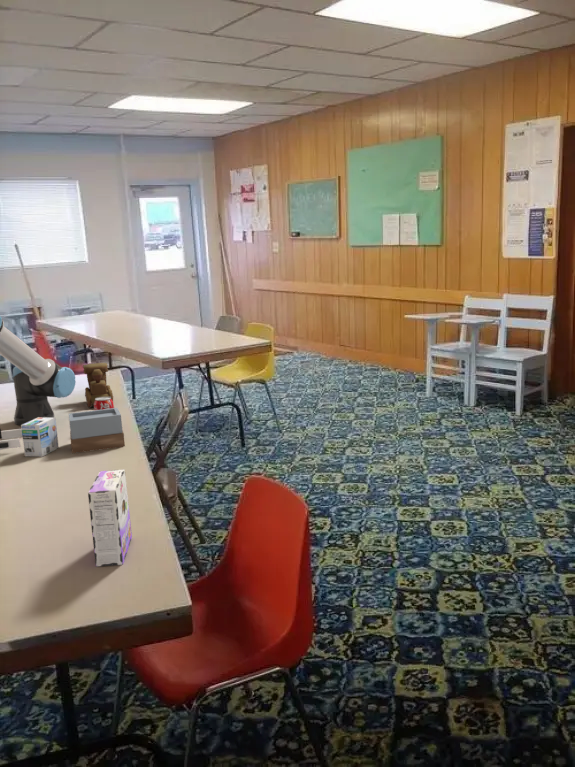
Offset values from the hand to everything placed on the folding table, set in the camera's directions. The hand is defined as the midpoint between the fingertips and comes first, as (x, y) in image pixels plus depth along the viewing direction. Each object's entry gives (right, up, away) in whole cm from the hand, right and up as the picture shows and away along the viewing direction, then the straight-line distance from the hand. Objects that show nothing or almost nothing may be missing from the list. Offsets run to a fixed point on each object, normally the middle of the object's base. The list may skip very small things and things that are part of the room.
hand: (21, 437), depth 227 cm
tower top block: (+23, +1, +8) cm, 24 cm away
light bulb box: (+6, -5, +3) cm, 9 cm away
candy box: (+50, -19, -78) cm, 95 cm away
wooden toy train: (+5, +9, +75) cm, 76 cm away
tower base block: (+23, -4, +9) cm, 25 cm away
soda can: (+20, 0, +28) cm, 35 cm away
